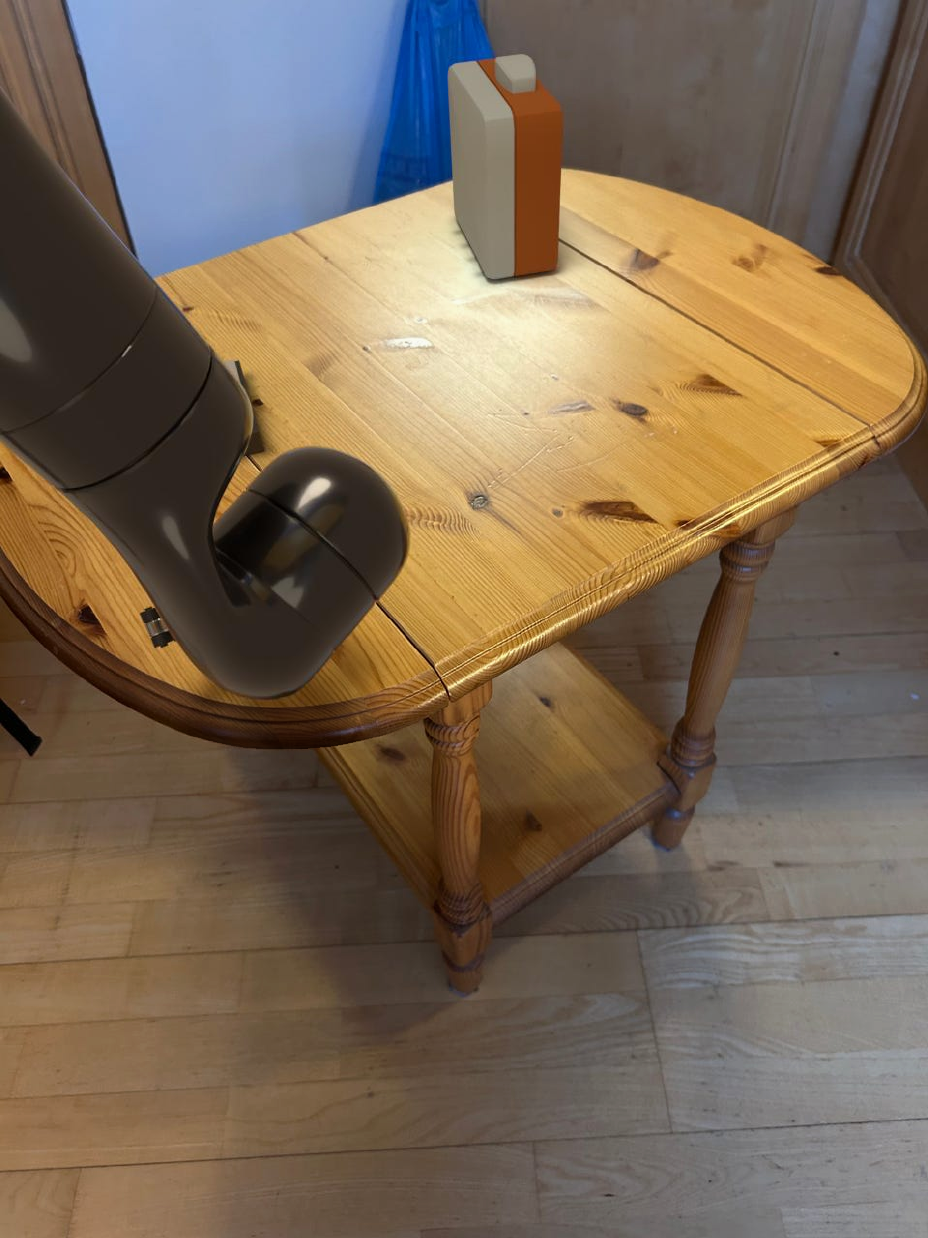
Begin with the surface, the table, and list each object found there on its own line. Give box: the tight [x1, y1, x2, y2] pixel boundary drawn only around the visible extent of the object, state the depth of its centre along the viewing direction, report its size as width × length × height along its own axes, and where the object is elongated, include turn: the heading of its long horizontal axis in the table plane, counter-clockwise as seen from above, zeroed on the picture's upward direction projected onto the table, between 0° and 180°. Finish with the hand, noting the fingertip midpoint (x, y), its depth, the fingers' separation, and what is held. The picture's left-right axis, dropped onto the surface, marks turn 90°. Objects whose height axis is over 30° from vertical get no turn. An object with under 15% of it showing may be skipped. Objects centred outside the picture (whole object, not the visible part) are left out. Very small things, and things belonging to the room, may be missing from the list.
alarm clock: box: [447, 53, 564, 280], centre depth 105 cm, size 18×9×21 cm, turn 13°
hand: (239, 596), depth 68 cm, fingers closed on candle, 5 cm apart
